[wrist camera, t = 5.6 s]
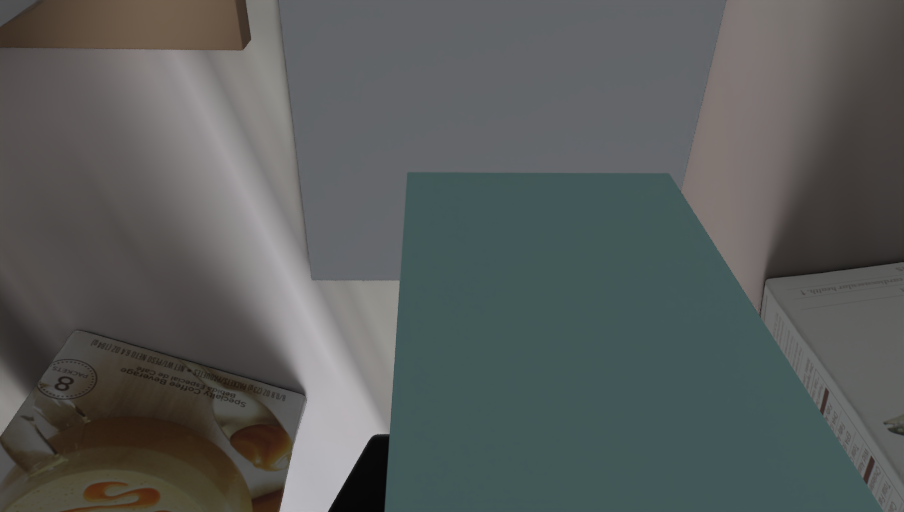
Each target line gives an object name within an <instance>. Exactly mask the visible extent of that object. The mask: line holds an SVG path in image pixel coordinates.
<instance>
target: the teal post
mask: <svg viewBox="0 0 904 512" xmlns="http://www.w3.org/2000/svg"><path fill="white" fill-rule="evenodd" d="M385 512H884V511H883V510H882V508H881V506H880V505H879V503H878V502H877V500H876V499H875V497H874V495H873V494H872V492H871V491H870V489H869V488H868V486H867V484H866V483H865V481H864V480H863V478H862V477H861V475H860V473H859V472H858V470H857V469H856V467H855V466H854V464H853V462H852V461H851V459H850V458H849V456H848V454H847V453H846V451H845V450H844V448H843V447H842V445H841V443H840V442H839V440H838V439H837V437H836V436H835V434H834V432H833V431H832V429H831V428H830V426H829V425H828V423H827V421H826V420H825V418H824V417H823V415H822V413H821V412H820V410H819V409H818V407H817V406H816V404H815V402H814V401H813V399H812V398H811V396H810V395H809V393H808V391H807V390H806V388H805V387H804V385H803V384H802V382H801V380H800V379H799V377H798V376H797V374H796V373H795V371H794V369H793V368H792V366H791V365H790V363H789V361H788V360H787V358H786V357H785V355H784V354H783V352H782V350H781V349H780V347H779V346H778V344H777V343H776V341H775V339H774V338H773V336H772V335H771V333H770V332H769V330H768V328H767V327H766V325H765V324H764V322H763V321H762V319H761V317H760V316H759V314H758V313H757V311H756V309H755V308H754V306H753V305H752V303H751V302H750V300H749V298H748V297H747V295H746V294H745V292H744V291H743V289H742V287H741V286H740V284H739V283H738V281H737V280H736V278H735V276H734V275H733V273H732V272H731V270H730V268H729V267H728V265H727V264H726V262H725V261H724V259H723V257H722V256H721V254H720V253H719V251H718V250H717V248H716V246H715V245H714V243H713V242H712V240H711V239H710V237H709V235H708V234H707V232H706V231H705V229H704V228H703V226H702V224H701V223H700V221H699V220H698V218H697V216H696V215H695V213H694V212H693V210H692V209H691V207H690V205H689V204H688V202H687V201H686V199H685V198H684V196H683V194H682V193H681V191H680V190H679V188H678V187H677V185H676V183H675V182H674V180H673V179H672V177H671V175H670V174H669V173H461V172H407V183H406V198H405V213H404V228H403V243H402V258H401V273H400V288H399V303H398V318H397V333H396V348H395V363H394V378H393V393H392V408H391V423H390V438H389V453H388V468H387V483H386V498H385Z"/></svg>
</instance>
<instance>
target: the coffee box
mask: <svg viewBox="0 0 904 512" xmlns="http://www.w3.org/2000/svg"><path fill="white" fill-rule="evenodd" d="M306 403H307V398H306V397H305V396H304V395H302V394H298V393H295V392H292V391H288V390H285V389H281V388H278V387H274V386H271V385H268V384H264V383H261V382H258V381H254V380H251V379H247V378H244V377H240V376H237V375H233V374H230V373H226V372H223V371H219V370H216V369H212V368H209V367H206V366H202V365H199V364H195V363H192V362H188V361H185V360H181V359H178V358H174V357H171V356H167V355H164V354H161V353H157V352H154V351H151V350H147V349H144V348H140V347H137V346H133V345H130V344H126V343H123V342H120V341H116V340H113V339H109V338H106V337H102V336H99V335H95V334H91V333H88V332H84V331H79V330H76V331H73V333H72V334H71V335H70V336H69V338H68V339H67V341H66V342H65V344H64V345H63V347H62V348H61V349H60V351H59V352H58V354H57V355H56V357H55V358H54V360H53V361H52V363H51V364H50V366H49V367H48V369H47V370H46V372H45V373H44V374H43V376H42V377H41V379H40V380H39V382H38V383H37V385H36V386H35V388H34V389H33V391H32V392H31V393H30V394H29V396H28V397H27V399H26V400H25V401H24V403H23V404H22V405H21V407H20V408H19V410H18V411H17V413H16V414H15V416H14V417H13V419H12V420H11V422H10V423H9V425H8V426H7V428H6V429H5V431H4V432H3V433H2V435H1V436H0V512H279V511H280V506H281V502H282V498H283V493H284V488H285V483H286V479H287V474H288V469H289V465H290V460H291V456H292V451H293V446H294V443H295V440H296V436H297V433H298V429H299V426H300V423H301V419H302V416H303V413H304V410H305V406H306Z"/></svg>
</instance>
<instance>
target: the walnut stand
mask: <svg viewBox="0 0 904 512" xmlns="http://www.w3.org/2000/svg"><path fill="white" fill-rule="evenodd" d="M250 40H251V36H250V29H249V22H248V15H247V8H246V2H245V0H45V1H44V2H43V3H41V4H40V5H38V6H37V7H35V8H34V9H33V10H31V11H30V12H28V13H26V14H24V15H22V16H21V17H19V18H17V19H15V20H13V21H11V22H9V23H7V24H5V25H3V26H2V27H0V47H14V48H94V49H173V50H243V49H244V48H245V47H246V45H247V44H248V43H249V41H250Z"/></svg>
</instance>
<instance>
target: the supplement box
mask: <svg viewBox="0 0 904 512" xmlns="http://www.w3.org/2000/svg"><path fill="white" fill-rule="evenodd" d="M761 319H762V321H763V322H764V324H765V325H766V327H767V328H768V330H769V332H770V333H771V335H772V336H773V338H774V339H775V341H776V343H777V344H778V346H779V347H780V349H781V350H782V352H783V354H784V355H785V357H786V358H787V360H788V361H789V363H790V365H791V366H792V368H793V369H794V371H795V373H796V374H797V376H798V377H799V379H800V380H801V382H802V384H803V385H804V387H805V388H806V390H807V391H808V393H809V395H810V396H811V398H812V399H813V401H814V402H815V404H816V406H817V407H818V409H819V410H820V412H821V413H822V415H823V417H824V418H825V420H826V421H827V423H828V425H829V426H830V428H831V429H832V431H833V432H834V434H835V436H836V437H837V439H838V440H839V442H840V443H841V445H842V447H843V448H844V450H845V451H846V453H847V454H848V456H849V458H850V459H851V461H852V462H853V464H854V466H855V467H856V469H857V470H858V472H859V473H860V475H861V477H862V478H863V480H864V481H865V483H866V484H867V486H868V488H869V489H870V491H871V492H872V494H873V495H874V497H875V499H876V500H877V502H878V503H879V505H880V506H881V508H882V510H883V511H884V512H904V262H901V263H894V264H887V265H880V266H872V267H865V268H856V269H849V270H842V271H832V272H826V273H819V274H809V275H800V276H791V277H781V278H772V279H767V280H766V281H765V287H764V295H763V301H762V309H761Z"/></svg>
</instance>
